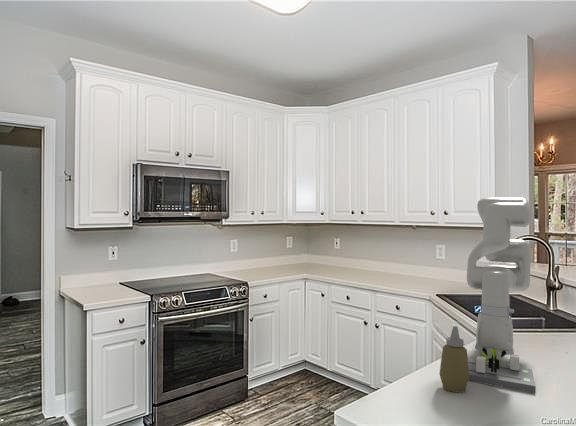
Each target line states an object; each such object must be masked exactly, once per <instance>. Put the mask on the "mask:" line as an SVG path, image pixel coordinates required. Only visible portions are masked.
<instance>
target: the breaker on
mask: <svg viewBox="0 0 576 426" xmlns="http://www.w3.org/2000/svg"><path fill="white" fill-rule="evenodd" d="M509 365H510V369H511V370H517V371H519V367H520V355H519V354H515V353H514V354H511V355H509Z"/></svg>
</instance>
